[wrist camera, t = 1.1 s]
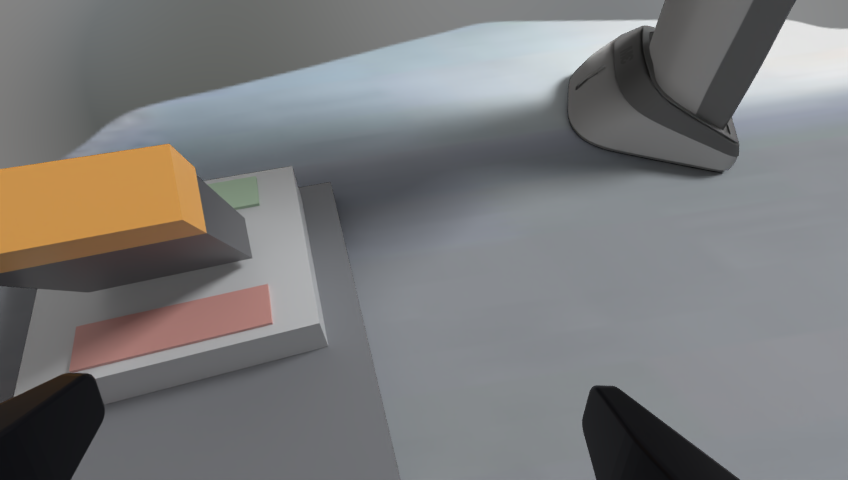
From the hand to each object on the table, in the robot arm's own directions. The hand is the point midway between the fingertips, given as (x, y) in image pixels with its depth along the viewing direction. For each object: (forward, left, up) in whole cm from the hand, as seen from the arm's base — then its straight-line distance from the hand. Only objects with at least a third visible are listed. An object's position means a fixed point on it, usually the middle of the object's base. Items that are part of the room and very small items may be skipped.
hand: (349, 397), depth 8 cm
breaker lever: (-1, +13, -10) cm, 16 cm away
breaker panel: (-2, +11, -15) cm, 18 cm away
